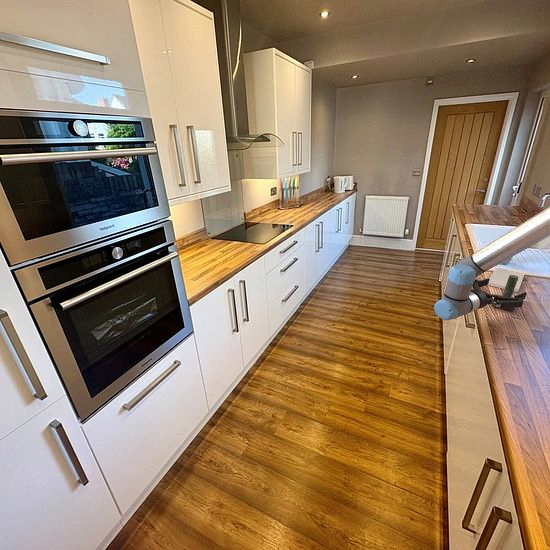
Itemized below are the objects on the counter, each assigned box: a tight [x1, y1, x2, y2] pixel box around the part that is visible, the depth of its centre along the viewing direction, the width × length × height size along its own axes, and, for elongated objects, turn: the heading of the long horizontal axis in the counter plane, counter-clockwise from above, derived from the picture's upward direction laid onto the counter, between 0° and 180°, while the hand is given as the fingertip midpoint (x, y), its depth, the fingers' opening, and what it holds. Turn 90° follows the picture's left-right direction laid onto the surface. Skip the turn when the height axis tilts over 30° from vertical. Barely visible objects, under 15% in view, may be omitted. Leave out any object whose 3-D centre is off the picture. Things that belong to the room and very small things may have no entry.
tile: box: [487, 266, 526, 293], centre depth 141 cm, size 12×22×2 cm, turn 137°
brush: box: [491, 275, 519, 313], centre depth 118 cm, size 7×5×14 cm
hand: (505, 288), depth 116 cm, fingers open, 13 cm apart
